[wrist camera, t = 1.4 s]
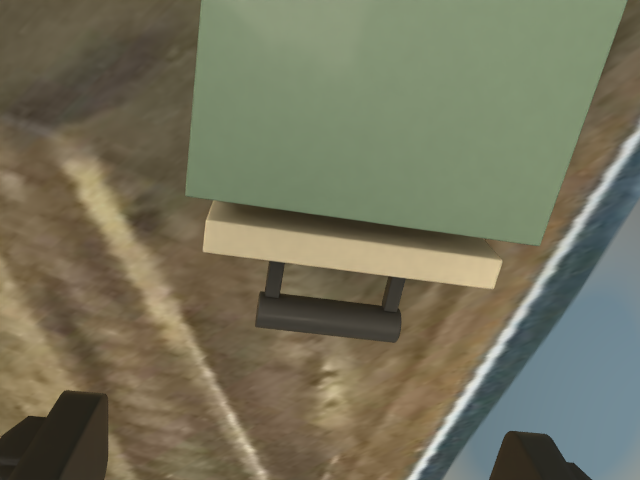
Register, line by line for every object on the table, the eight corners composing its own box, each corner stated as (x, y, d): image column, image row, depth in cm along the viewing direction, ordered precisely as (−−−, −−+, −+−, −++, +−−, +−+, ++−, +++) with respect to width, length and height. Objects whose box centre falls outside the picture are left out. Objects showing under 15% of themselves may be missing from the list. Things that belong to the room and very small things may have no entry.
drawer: (415, 292, 28) (461, 387, 21) (215, 267, 27) (191, 360, 20) (521, -98, 21) (642, -155, 14) (262, -157, 20) (252, -253, 13)
